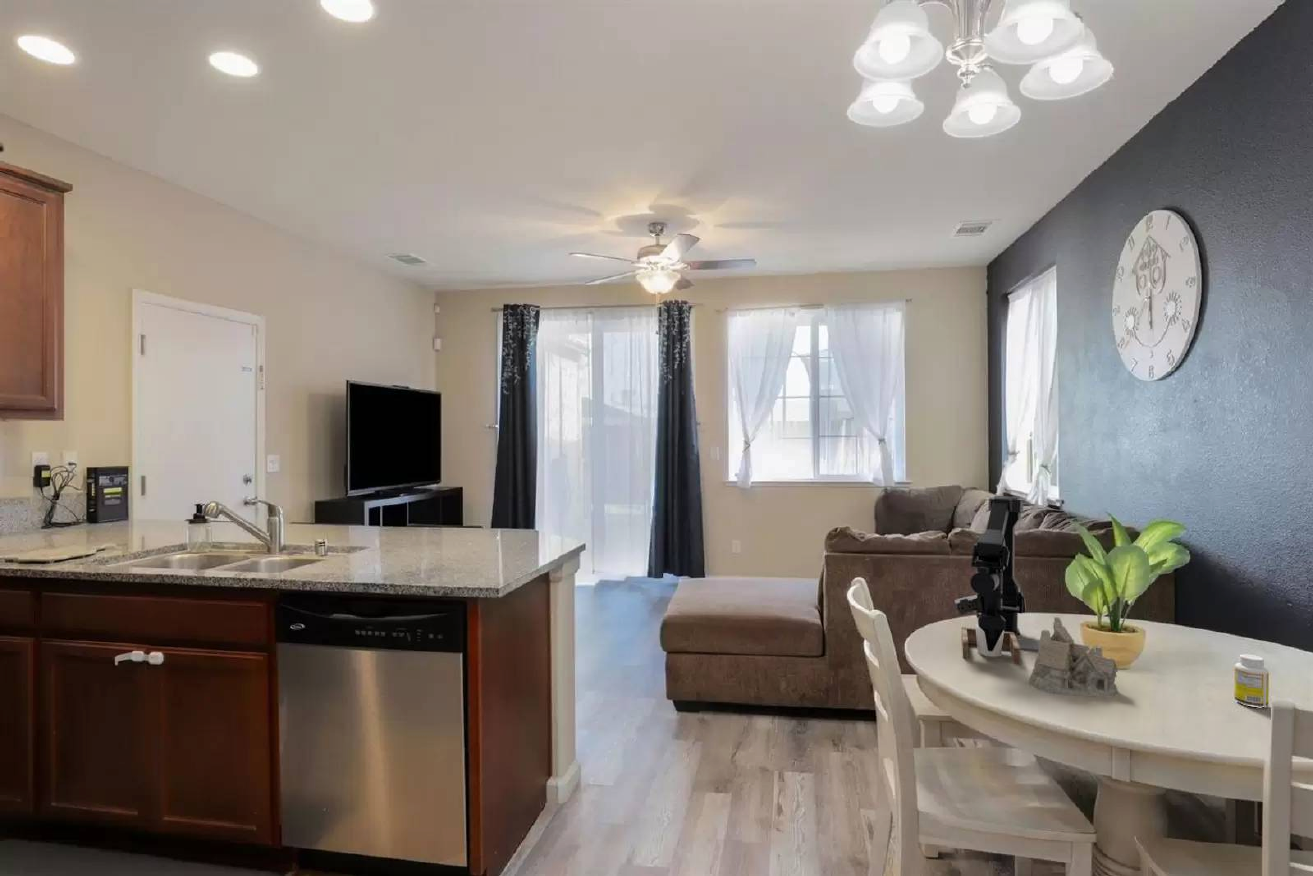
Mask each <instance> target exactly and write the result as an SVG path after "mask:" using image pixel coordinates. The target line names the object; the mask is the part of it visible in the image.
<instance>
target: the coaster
mask: <svg viewBox="0 0 1313 876" xmlns="http://www.w3.org/2000/svg"><path fill="white" fill-rule="evenodd" d="M1016 639H1017V642H1018V645H1019V648H1020V651H1030V652H1037V653H1038V652H1039V641H1040V640H1037V639H1036V640H1035V639H1025V638H1017V637H1016Z"/></svg>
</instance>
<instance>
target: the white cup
mask: <svg viewBox="0 0 1313 876" xmlns="http://www.w3.org/2000/svg"><path fill="white" fill-rule="evenodd" d="M974 628H976V640H977V644H976V647H977V648H976V650H977V653H978V654H979V655H982V656H984V657H985V656H986V657H991V658H992V657H993V658H994V657H1001V656H1002V651H1003V647H1002V644H1003V635H1004V630H1003V632H1002V634H1001V636H1000V638H999V639H998V641H997V643H996V645H995V647H994V649H993V651H988V648H987V643H986V638H985V632H984V631H983V630H982V629H981V628H980V627H978V623H977V624H975V626H974Z"/></svg>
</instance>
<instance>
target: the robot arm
mask: <svg viewBox="0 0 1313 876" xmlns="http://www.w3.org/2000/svg"><path fill="white" fill-rule="evenodd" d="M988 511H989V516H988V520H987V525H986V527H985V528H986V529H985V531H984V532H983V533H981V534H980V535H979V536H978V538H977V541H976V543H974V546H973V551H972V559H971V566H970V567H972V568H977V571H976V572H975V574H973V575H972V576H971V578H970V587H971V589H972V590H973V592H974V593H976V594H975V595H969V596H965V597H960V598H957V599H955V600H954V604H955V607H956V610H957V613H958V615H965V614H967V613H971V612H975V613H976V619H977V624H978V627H980V628H981V629H982V630H983V631H984V632H985V638H986V643H987V648H988V651H993V649H994V647H995V645H996V643H997V641H998V639H999V638H1000V636H1001V634H1002V632H1003V630H1004V632H1014V634H1015V635H1021V632H1020V629H1019V626H1018V625H1019V614H1026V613H1027V611H1026V609H1027V607H1026V598H1025V596H1024V594H1023V592H1022V590H1021V584H1020V582H1019V581H1018V580H1017V578H1016V576H1015V551H1016V550H1015V540H1016V539H1015V535H1016V534H1015V533H1016V529H1015V528H1016V526H1017V524H1018V522H1019V521H1020V520H1021V518H1022V514H1023V512H1024V501H1023V500H1021V499H1020V498H1019V497H1018V496H1005V495H1004V496H1002V495H995V496H994V497H991V498H988Z"/></svg>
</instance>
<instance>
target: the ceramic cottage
mask: <svg viewBox="0 0 1313 876" xmlns="http://www.w3.org/2000/svg"><path fill="white" fill-rule="evenodd" d="M1052 626H1053V627H1052V628H1053V633H1052V635H1051V632H1050V630H1049V629H1042V630H1041V633H1040V639H1039V640H1038V641H1039V652H1037V657H1036V659H1035V660H1034V666H1033V667H1034V668H1033V669H1032V672H1031V673H1030V677H1029V681H1028V684H1029V686H1030V687H1032V688H1035V689H1037V690H1039V691H1044V692H1048V693H1052V694H1058V695H1063V696H1082V697H1083V696H1084V697H1088V696H1090V697H1103V698H1105V697H1108V696H1110V697H1114V696H1115V694H1117V693H1118V688H1117V684H1116V683H1115V682H1116V678H1117V673H1118V671H1119V669H1118V666H1117V663H1116V661H1115V659H1113V658H1110V657H1105V656H1103V648H1102V646H1101V645H1096V646H1092V645H1091V646H1090V647H1089V646H1088V645H1085V644H1079V643H1075V641H1074V638H1073V637H1072V636H1071V635H1070V633H1069V631H1068V630H1067V628H1066V627H1065V626H1063V623H1062V619H1061V617H1060V616H1059V617H1057V616H1055V617H1054V618H1053V625H1052ZM1094 647H1095V648H1094ZM1108 698H1109V697H1108Z"/></svg>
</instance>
